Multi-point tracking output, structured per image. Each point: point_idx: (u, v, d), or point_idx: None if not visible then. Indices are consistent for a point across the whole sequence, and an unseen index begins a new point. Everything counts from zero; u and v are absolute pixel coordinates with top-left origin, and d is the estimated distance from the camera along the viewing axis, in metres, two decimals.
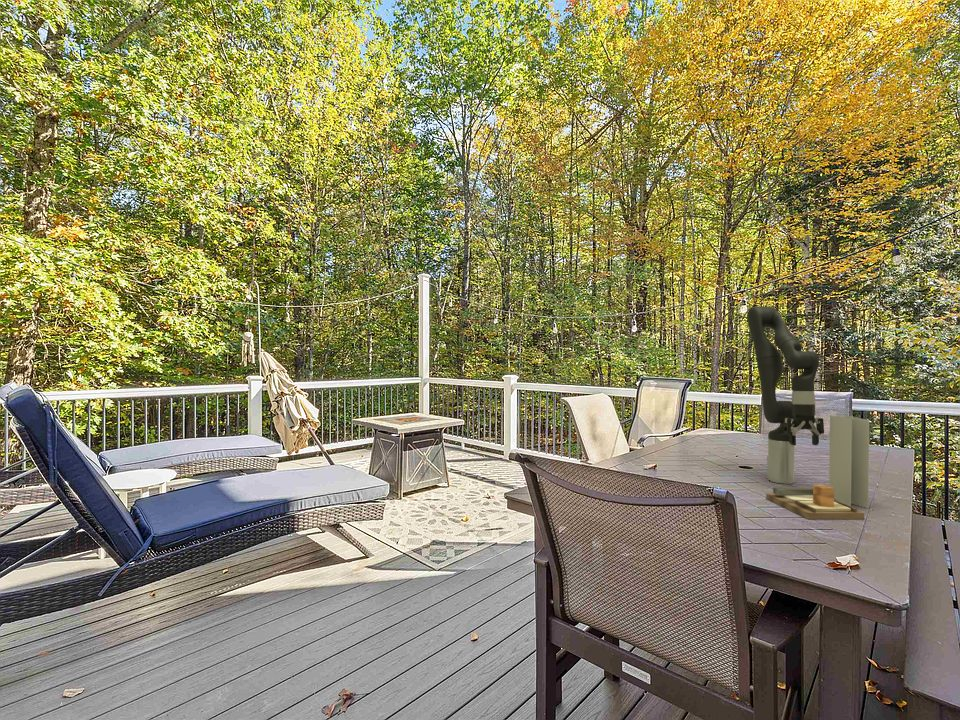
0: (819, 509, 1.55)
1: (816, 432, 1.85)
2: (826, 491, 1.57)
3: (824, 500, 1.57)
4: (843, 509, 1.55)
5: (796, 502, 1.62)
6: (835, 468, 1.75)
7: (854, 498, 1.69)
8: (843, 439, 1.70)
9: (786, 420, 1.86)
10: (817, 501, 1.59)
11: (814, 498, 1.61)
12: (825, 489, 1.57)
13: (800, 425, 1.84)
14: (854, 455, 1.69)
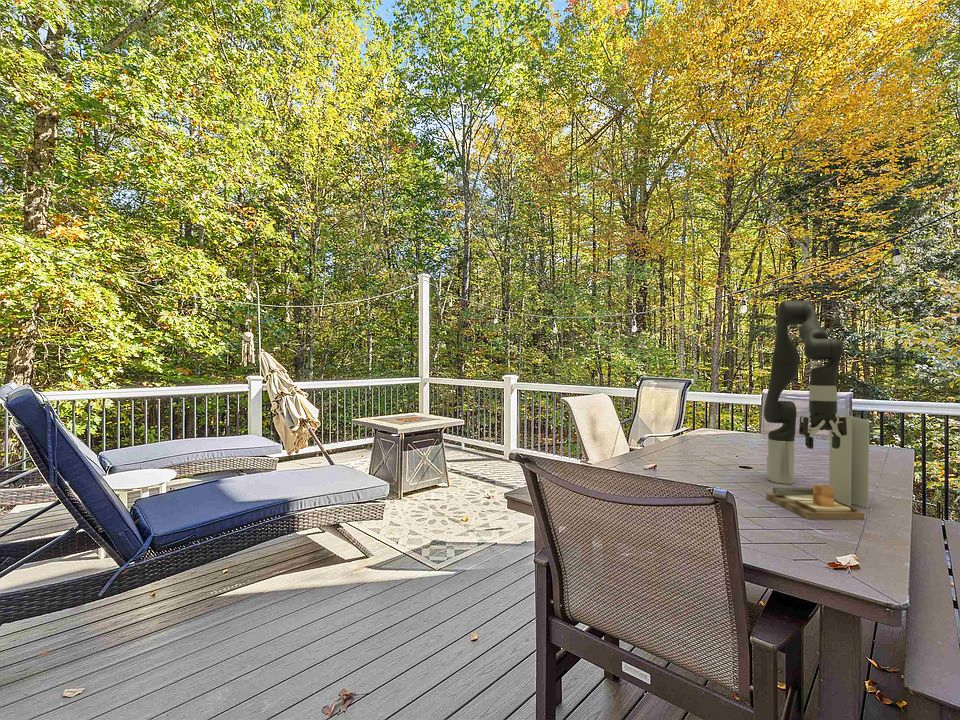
0: (819, 509, 1.55)
1: (837, 433, 1.58)
2: (826, 491, 1.57)
3: (824, 500, 1.57)
4: (843, 509, 1.55)
5: (796, 502, 1.62)
6: (835, 468, 1.75)
7: (854, 498, 1.69)
8: (843, 439, 1.70)
9: (802, 419, 1.59)
10: (817, 501, 1.59)
11: (814, 498, 1.61)
12: (825, 489, 1.57)
13: (819, 425, 1.58)
14: (854, 455, 1.69)
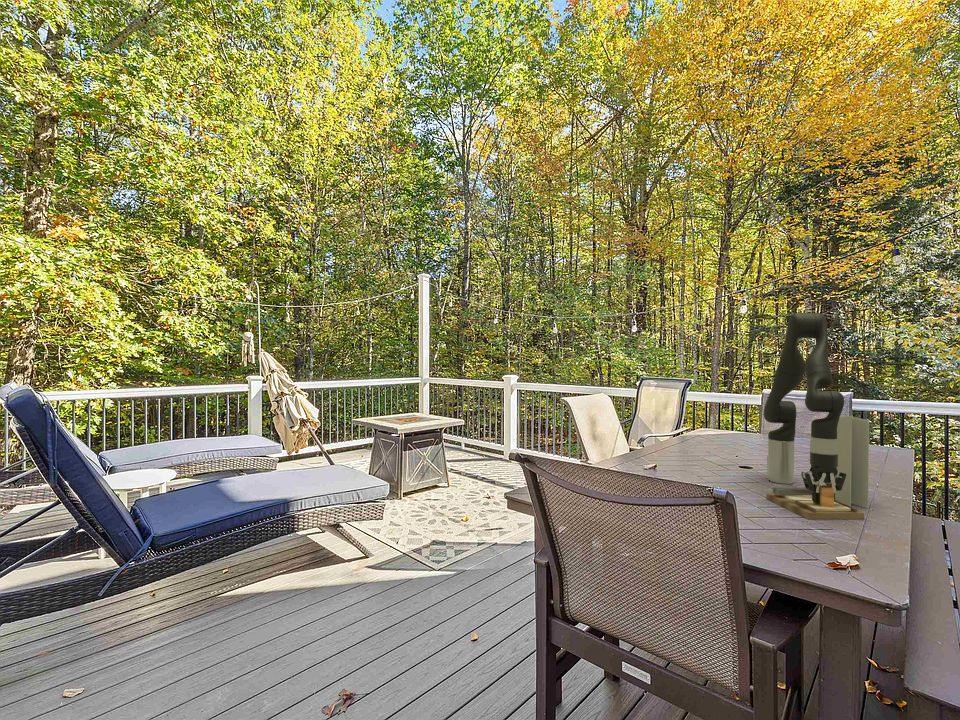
0: (819, 509, 1.55)
1: None
2: (826, 491, 1.57)
3: (824, 500, 1.57)
4: (843, 509, 1.55)
5: (796, 502, 1.62)
6: None
7: (854, 498, 1.69)
8: (843, 439, 1.70)
9: (804, 476, 1.59)
10: None
11: None
12: (825, 489, 1.57)
13: (821, 479, 1.57)
14: (854, 455, 1.69)
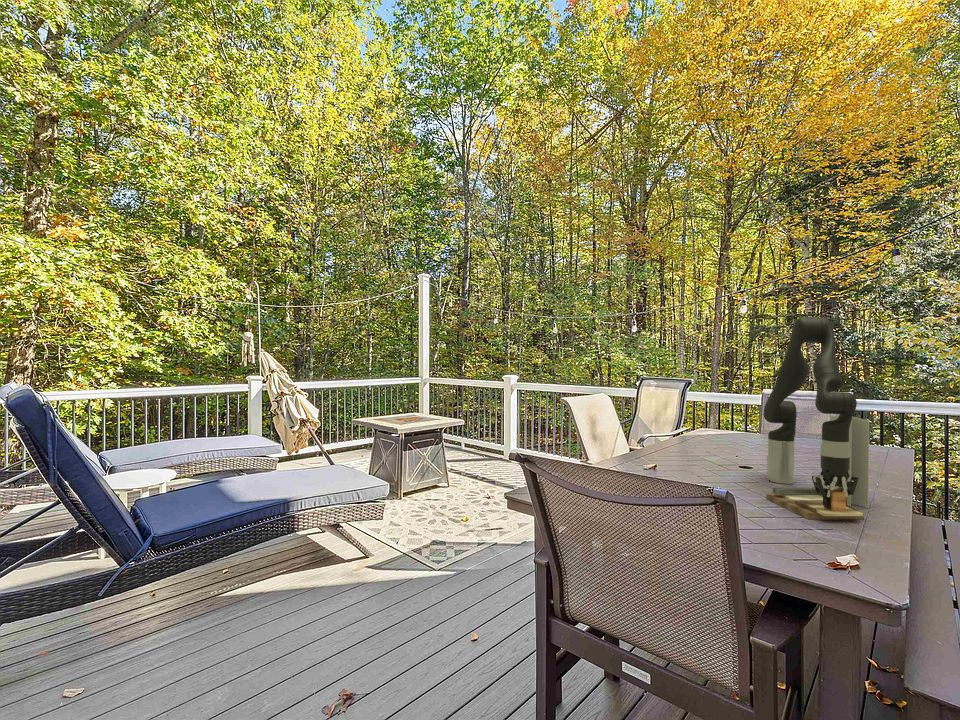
0: (830, 514, 1.50)
1: None
2: (837, 495, 1.52)
3: (835, 505, 1.52)
4: (855, 514, 1.50)
5: (796, 502, 1.62)
6: None
7: (854, 498, 1.69)
8: None
9: (815, 480, 1.54)
10: None
11: None
12: (836, 493, 1.52)
13: (833, 483, 1.52)
14: (854, 455, 1.69)
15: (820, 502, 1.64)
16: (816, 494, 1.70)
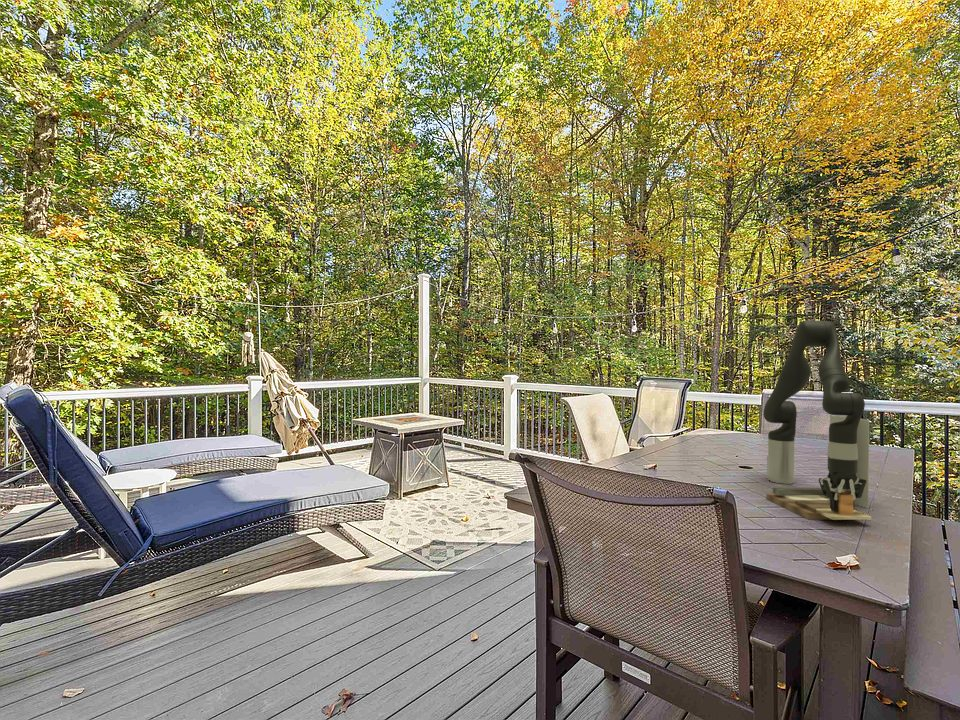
0: (838, 517, 1.47)
1: None
2: (845, 498, 1.49)
3: (843, 508, 1.49)
4: (863, 517, 1.47)
5: (796, 502, 1.62)
6: None
7: None
8: None
9: (822, 482, 1.51)
10: None
11: None
12: (844, 496, 1.49)
13: (840, 486, 1.49)
14: None
15: (820, 502, 1.64)
16: (816, 494, 1.70)
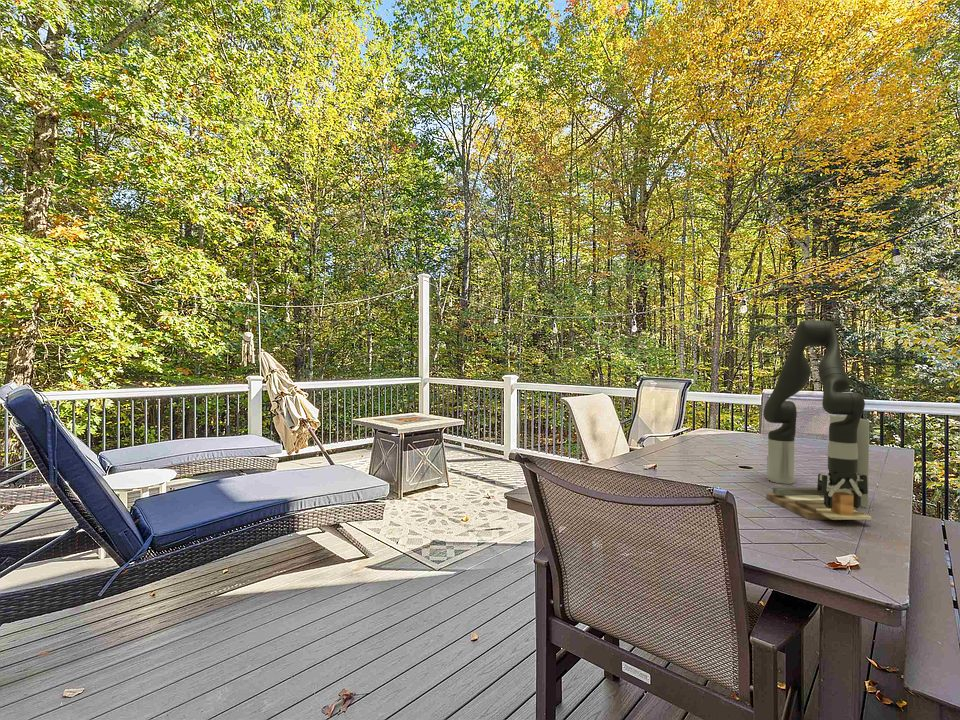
0: (838, 517, 1.47)
1: (858, 492, 1.50)
2: (845, 498, 1.49)
3: (843, 508, 1.49)
4: (863, 517, 1.47)
5: (796, 502, 1.62)
6: None
7: None
8: None
9: (821, 477, 1.51)
10: (836, 509, 1.51)
11: (832, 506, 1.53)
12: (844, 496, 1.49)
13: (838, 484, 1.49)
14: None
15: (820, 502, 1.64)
16: (816, 494, 1.70)
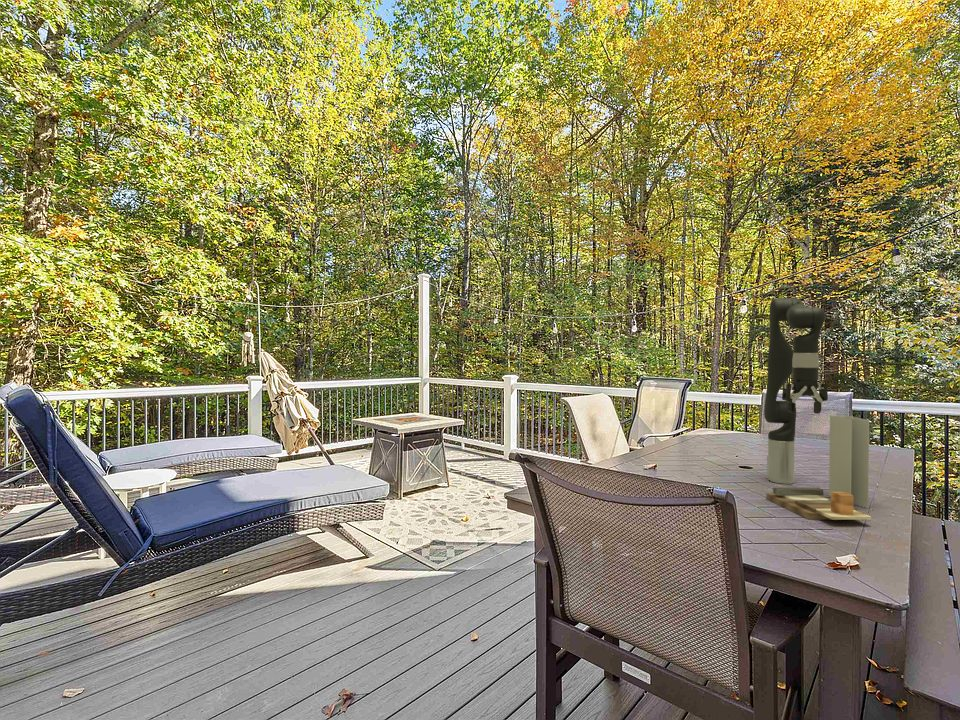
0: (838, 517, 1.47)
1: (819, 399, 1.65)
2: (845, 498, 1.49)
3: (843, 508, 1.49)
4: (863, 517, 1.47)
5: (796, 502, 1.62)
6: (835, 468, 1.75)
7: (854, 498, 1.69)
8: (843, 439, 1.70)
9: (785, 385, 1.65)
10: (836, 509, 1.51)
11: (832, 506, 1.53)
12: (844, 496, 1.49)
13: (801, 391, 1.64)
14: (854, 455, 1.69)
15: (820, 502, 1.64)
16: (816, 494, 1.70)
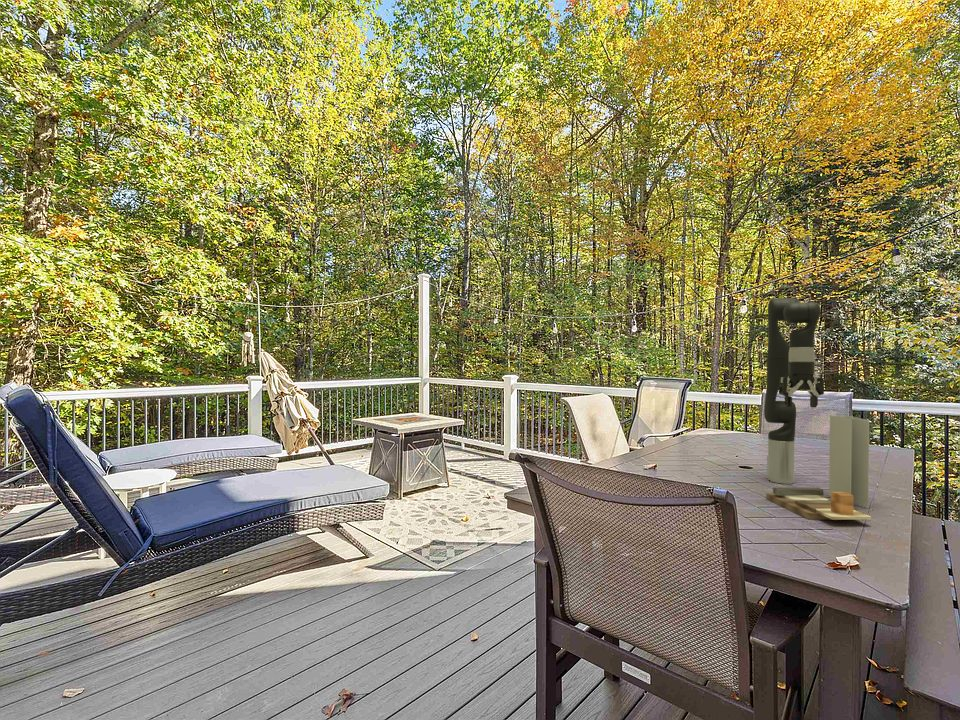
0: (838, 517, 1.47)
1: (815, 393, 1.66)
2: (845, 498, 1.49)
3: (843, 508, 1.49)
4: (863, 517, 1.47)
5: (796, 502, 1.62)
6: (835, 468, 1.75)
7: (854, 498, 1.69)
8: (843, 439, 1.70)
9: (782, 380, 1.67)
10: (836, 509, 1.51)
11: (832, 506, 1.53)
12: (844, 496, 1.49)
13: (797, 385, 1.65)
14: (854, 455, 1.69)
15: (820, 502, 1.64)
16: (816, 494, 1.70)
